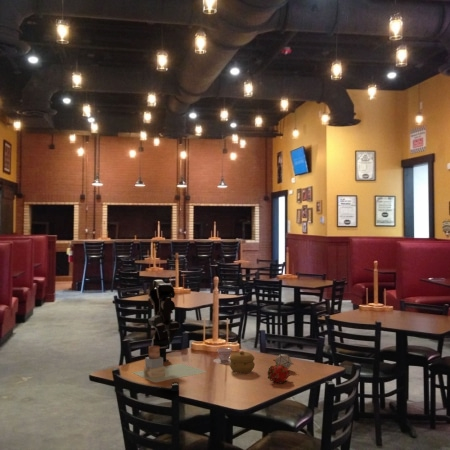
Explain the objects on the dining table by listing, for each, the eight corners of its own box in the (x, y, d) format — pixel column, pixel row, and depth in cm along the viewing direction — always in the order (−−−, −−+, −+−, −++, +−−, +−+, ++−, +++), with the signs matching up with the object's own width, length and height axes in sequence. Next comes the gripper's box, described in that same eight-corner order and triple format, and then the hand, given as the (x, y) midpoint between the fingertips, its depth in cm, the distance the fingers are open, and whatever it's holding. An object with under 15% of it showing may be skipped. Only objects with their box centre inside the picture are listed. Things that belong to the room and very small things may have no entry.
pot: (250, 368, 252) (250, 347, 252) (258, 374, 241) (257, 352, 241) (227, 370, 249) (226, 349, 250) (233, 376, 238) (232, 354, 238)
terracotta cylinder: (146, 357, 242) (146, 346, 242) (156, 355, 244) (156, 345, 245) (152, 359, 238) (151, 348, 238) (161, 357, 240) (161, 346, 241)
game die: (283, 379, 245) (277, 365, 240) (274, 369, 252) (267, 355, 247) (298, 368, 247) (293, 354, 242) (289, 359, 255) (283, 344, 250)
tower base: (144, 374, 241) (143, 366, 242) (157, 372, 246) (157, 363, 246) (151, 378, 236) (151, 369, 236) (164, 375, 240) (164, 366, 240)
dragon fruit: (265, 388, 224) (286, 387, 231) (277, 379, 219) (298, 379, 226) (260, 369, 229) (280, 369, 236) (271, 360, 224) (292, 360, 231)
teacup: (222, 358, 276) (221, 346, 276) (241, 360, 269) (240, 348, 269) (208, 362, 266) (208, 350, 266) (227, 365, 259) (227, 353, 259)
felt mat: (131, 373, 246) (131, 372, 246) (182, 364, 263) (182, 363, 263) (154, 383, 228) (154, 382, 228) (207, 372, 245) (207, 371, 245)
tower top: (145, 366, 241) (145, 357, 242) (156, 364, 245) (156, 355, 245) (151, 368, 237) (151, 359, 237) (163, 366, 240) (163, 357, 240)
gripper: (141, 308, 259) (141, 340, 259) (160, 313, 244) (160, 346, 244) (161, 306, 266) (161, 337, 266) (180, 310, 251) (181, 343, 251)
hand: (165, 341), depth 256 cm, fingers open, 9 cm apart
